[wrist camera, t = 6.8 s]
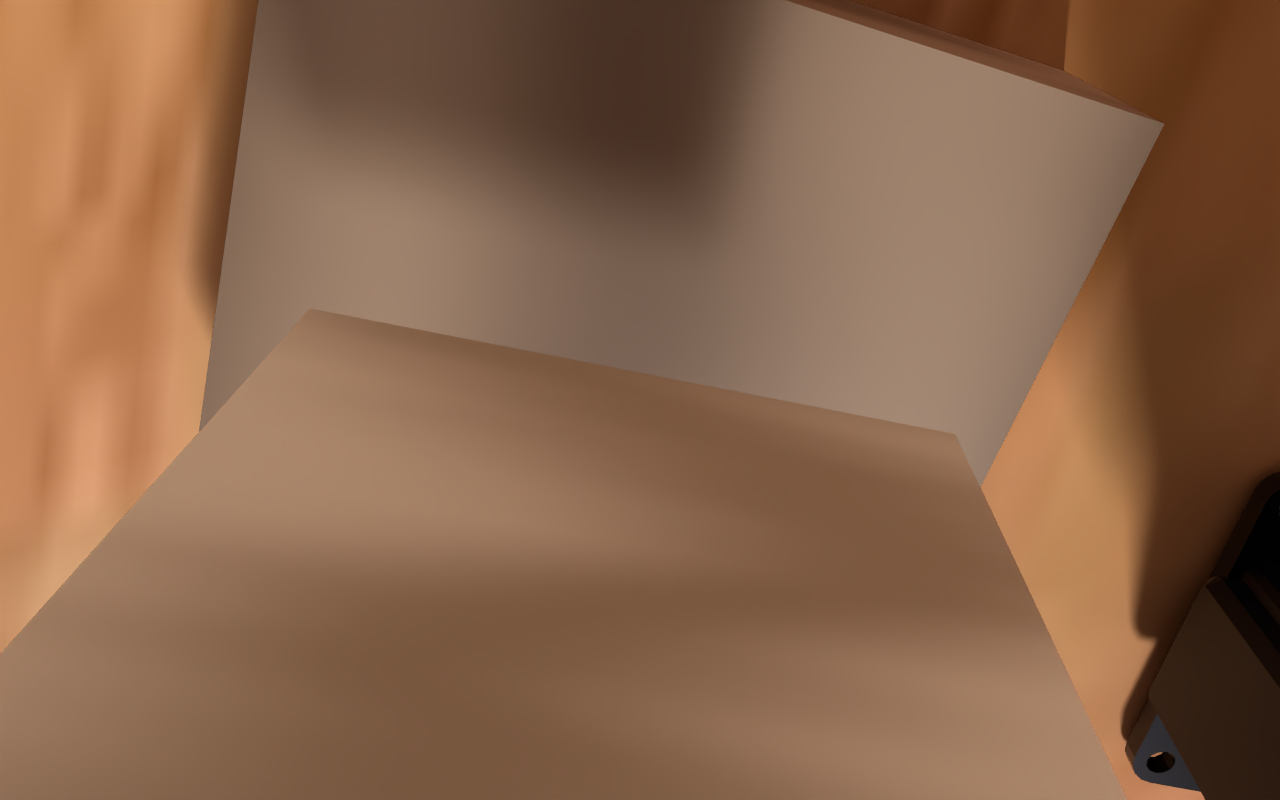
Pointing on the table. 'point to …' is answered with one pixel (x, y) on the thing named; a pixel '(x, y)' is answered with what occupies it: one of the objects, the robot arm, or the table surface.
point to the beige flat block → (677, 195)
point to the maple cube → (542, 601)
